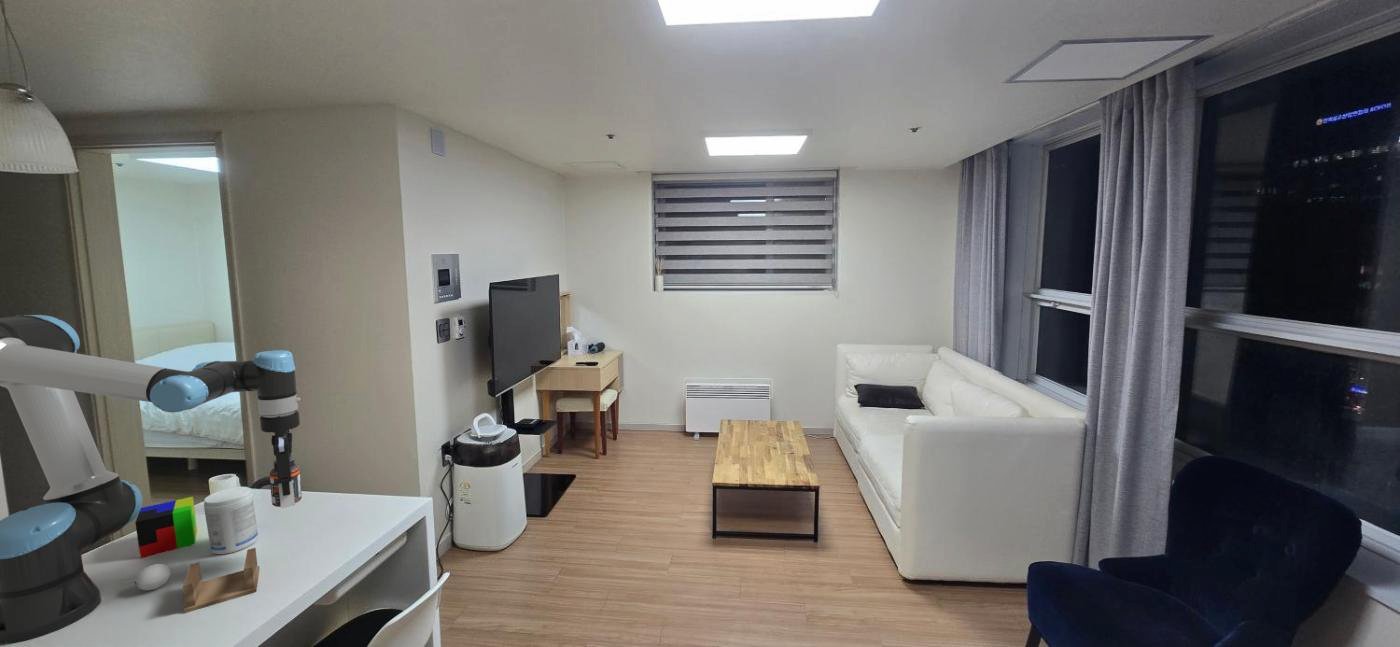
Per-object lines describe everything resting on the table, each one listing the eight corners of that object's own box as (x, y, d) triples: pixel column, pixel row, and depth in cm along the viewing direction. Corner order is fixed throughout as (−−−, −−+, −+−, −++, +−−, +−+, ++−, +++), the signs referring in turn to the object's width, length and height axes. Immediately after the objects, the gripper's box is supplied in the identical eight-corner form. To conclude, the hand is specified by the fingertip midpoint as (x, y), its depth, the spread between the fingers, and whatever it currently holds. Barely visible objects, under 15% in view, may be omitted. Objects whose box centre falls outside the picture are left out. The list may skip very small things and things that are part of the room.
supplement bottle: (272, 510, 126) (267, 466, 125) (272, 501, 131) (267, 458, 129) (302, 503, 130) (299, 460, 129) (301, 494, 135) (298, 453, 133)
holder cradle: (184, 613, 112) (180, 587, 111) (192, 587, 121) (189, 563, 120) (256, 591, 119) (253, 567, 119) (259, 568, 128) (257, 546, 127)
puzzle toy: (145, 542, 140) (140, 507, 138) (197, 529, 146) (192, 496, 145) (140, 558, 132) (135, 522, 131) (194, 544, 139) (190, 509, 137)
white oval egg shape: (177, 578, 124) (174, 556, 123) (162, 592, 119) (159, 570, 118) (136, 585, 122) (132, 563, 121) (118, 600, 116) (115, 577, 116)
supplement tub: (258, 532, 145) (253, 482, 143) (258, 547, 138) (251, 495, 136) (211, 544, 139) (205, 492, 137) (208, 560, 131) (201, 506, 130)
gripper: (298, 420, 122) (307, 511, 125) (298, 401, 137) (306, 484, 140) (256, 426, 118) (267, 520, 121) (262, 406, 133) (270, 491, 136)
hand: (288, 500), depth 130 cm, fingers closed on supplement bottle, 6 cm apart
